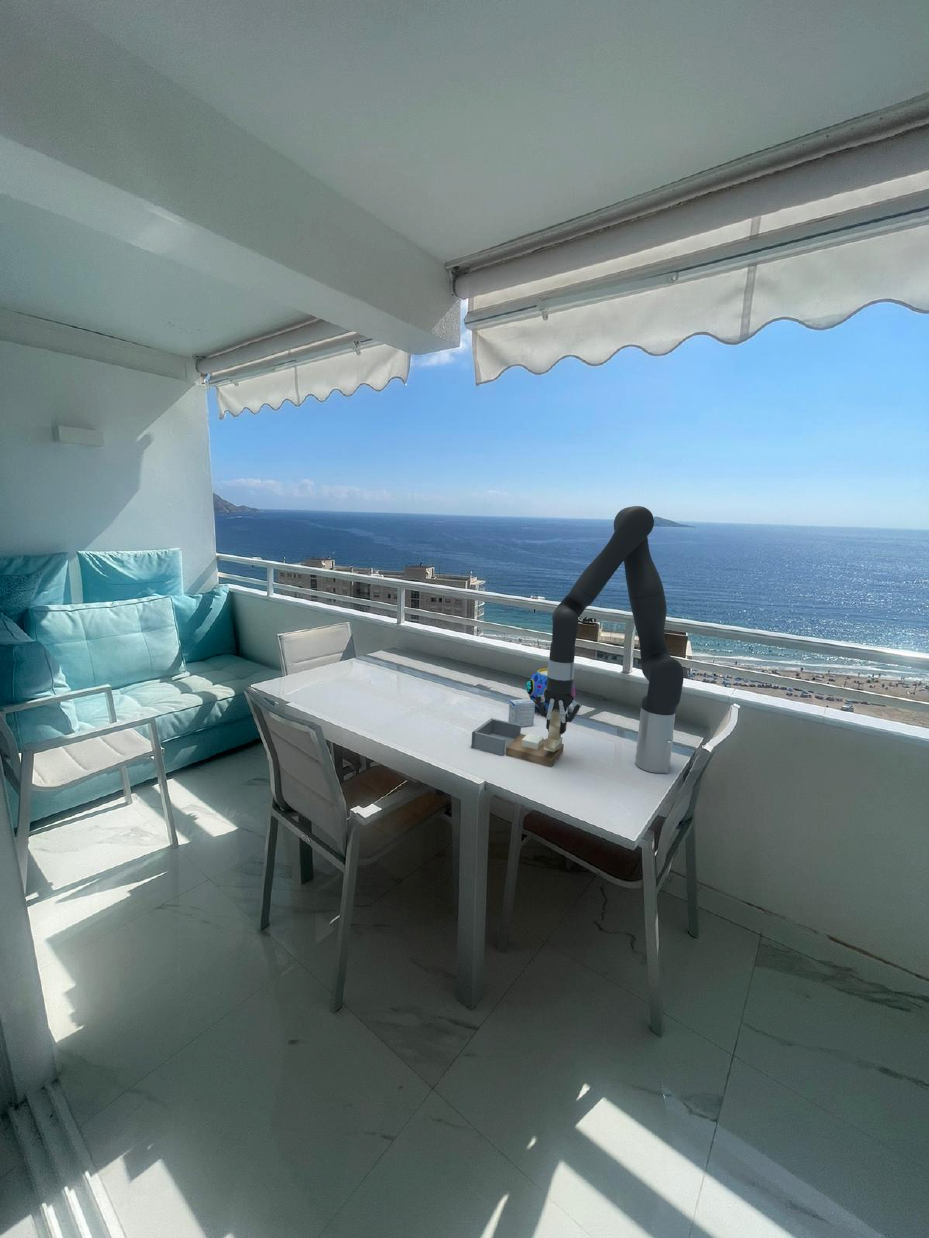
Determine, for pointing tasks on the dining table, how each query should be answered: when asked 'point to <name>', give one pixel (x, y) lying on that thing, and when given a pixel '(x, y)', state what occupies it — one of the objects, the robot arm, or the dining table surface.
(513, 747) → the walnut plate
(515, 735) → the box
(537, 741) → the cream tile
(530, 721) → the medicine box
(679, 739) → the dining table surface
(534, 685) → the ceramic pot
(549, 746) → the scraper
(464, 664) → the dining table surface
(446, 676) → the dining table surface
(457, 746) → the dining table surface
